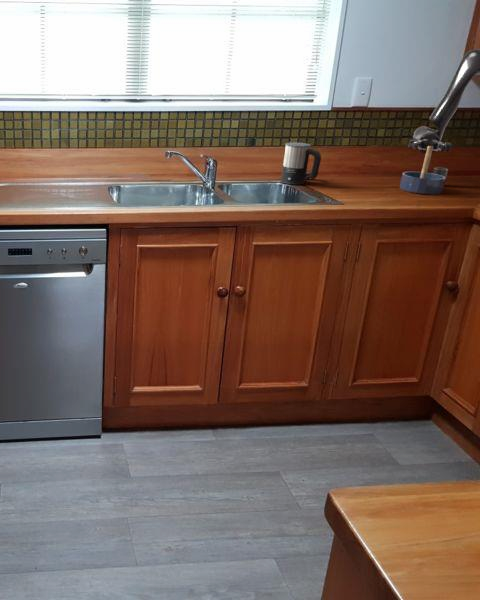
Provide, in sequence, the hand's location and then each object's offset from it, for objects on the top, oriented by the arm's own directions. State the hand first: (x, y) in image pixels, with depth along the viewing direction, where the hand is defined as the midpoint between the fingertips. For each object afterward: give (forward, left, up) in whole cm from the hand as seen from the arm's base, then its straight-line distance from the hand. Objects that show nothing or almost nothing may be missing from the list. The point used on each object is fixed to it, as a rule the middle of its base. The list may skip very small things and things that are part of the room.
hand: (429, 147), depth 225 cm
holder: (-6, -9, -15) cm, 19 cm away
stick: (0, +4, -15) cm, 15 cm away
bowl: (0, +4, -15) cm, 16 cm away
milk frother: (+43, +11, -16) cm, 47 cm away
